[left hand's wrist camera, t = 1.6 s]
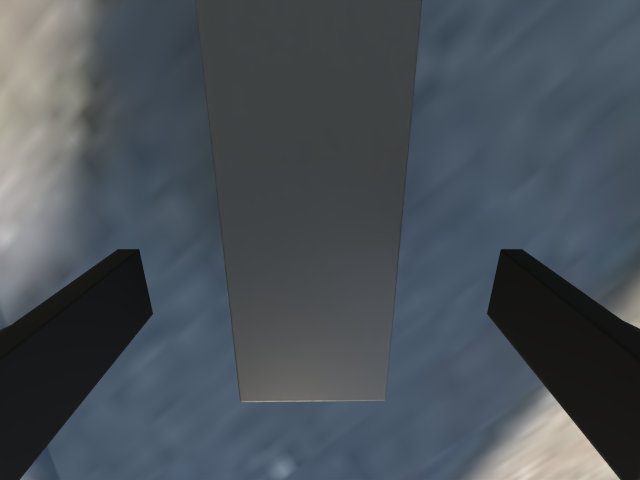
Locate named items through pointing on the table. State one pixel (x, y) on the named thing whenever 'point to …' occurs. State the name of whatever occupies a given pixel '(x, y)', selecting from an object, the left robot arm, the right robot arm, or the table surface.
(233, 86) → the bar
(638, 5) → the table surface
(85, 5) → the table surface
